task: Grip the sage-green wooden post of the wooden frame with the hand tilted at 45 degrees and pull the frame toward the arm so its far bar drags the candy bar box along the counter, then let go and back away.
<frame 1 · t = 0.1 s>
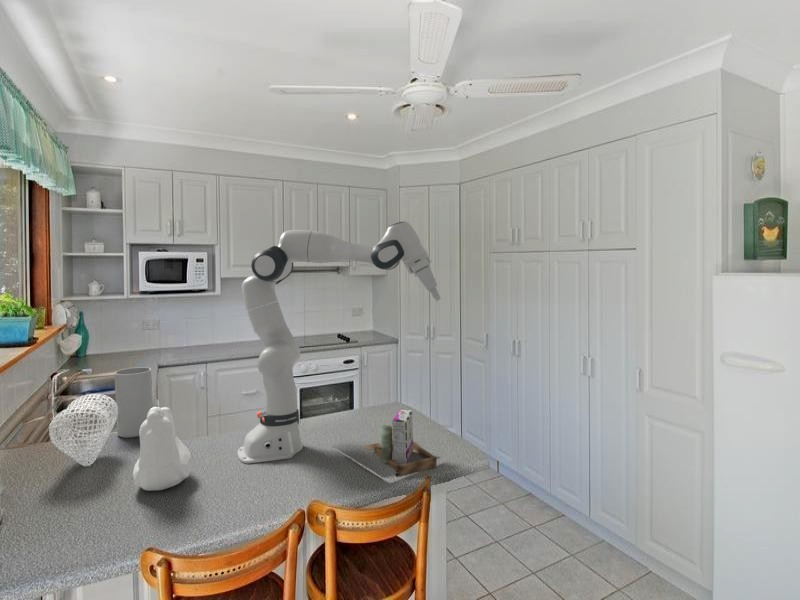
hand: (437, 298, 160), 54 cm above the countertop, tool tilted 30°, fingers open, 8 cm apart
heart: (88, 466, 152), on the countertop
candy bar box: (403, 462, 153), on the countertop
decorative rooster: (168, 479, 142), on the countertop
cylinder vase: (136, 433, 182), on the countertop
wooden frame: (402, 442, 153), point 7 cm above the countertop, slide at 0.0 cm
broken slat: (385, 447, 165), on the countertop
oak cube: (396, 441, 167), point 1 cm above the countertop, touching broken slat
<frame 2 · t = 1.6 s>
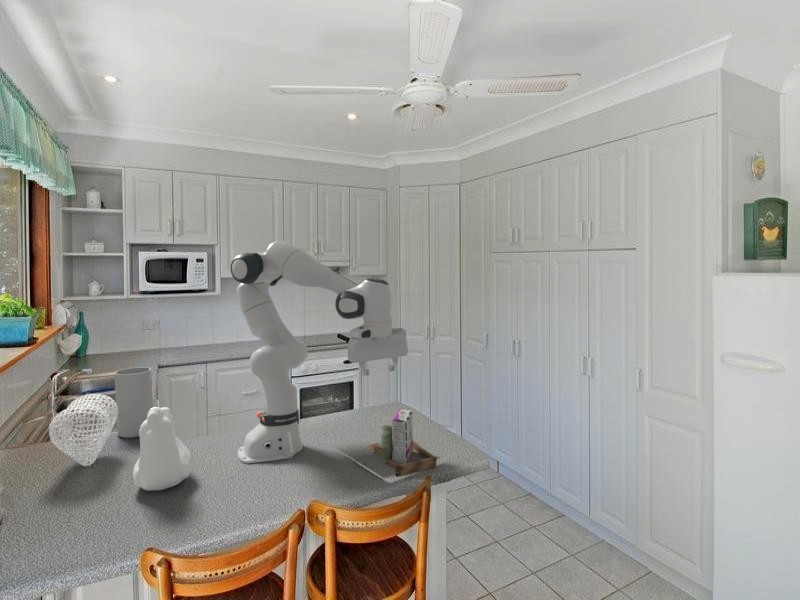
hand: (379, 373, 145), 32 cm above the countertop, tool pointing down, fingers open, 8 cm apart
nothing on the countertop moved.
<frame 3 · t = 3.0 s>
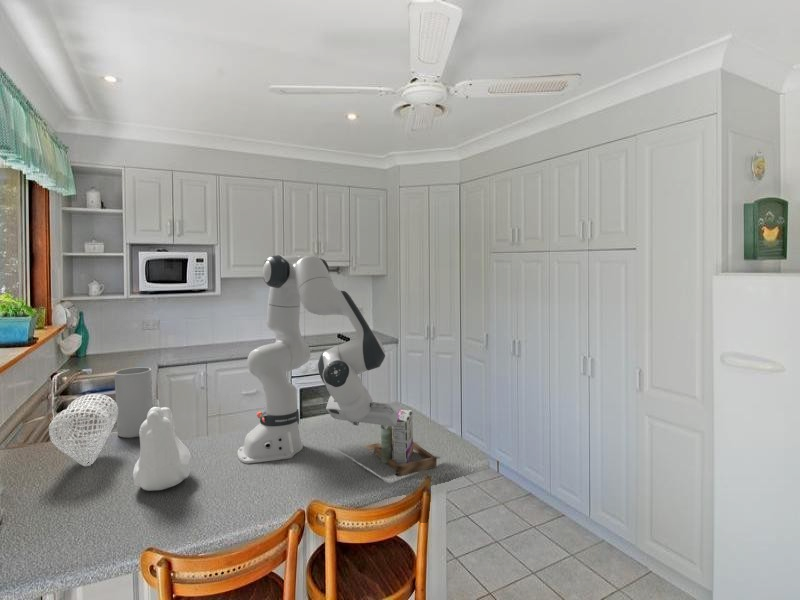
hand: (370, 425, 138), 18 cm above the countertop, tool tilted 45°, fingers open, 8 cm apart
nothing on the countertop moved.
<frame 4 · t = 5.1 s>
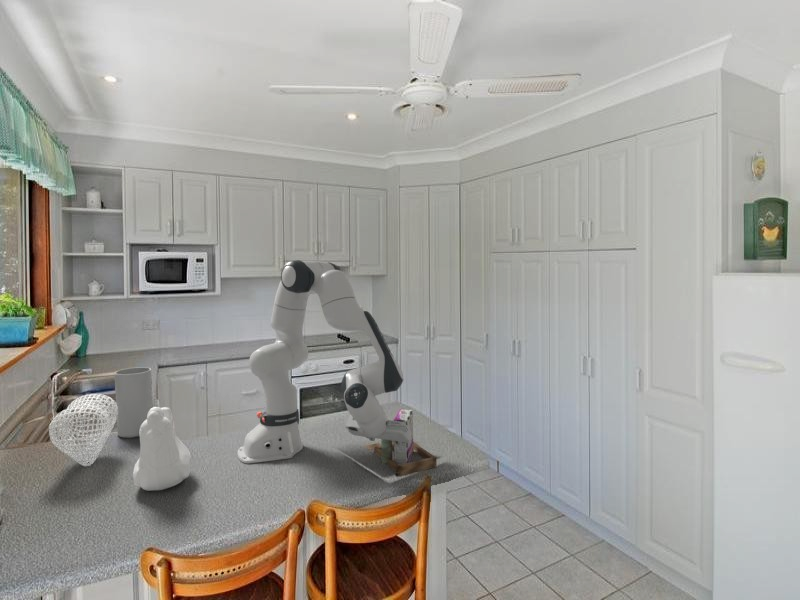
hand: (386, 440, 149), 9 cm above the countertop, tool tilted 45°, fingers open, 8 cm apart
candy bar box: (403, 462, 154), on the countertop, touching gripper
everything else where it was.
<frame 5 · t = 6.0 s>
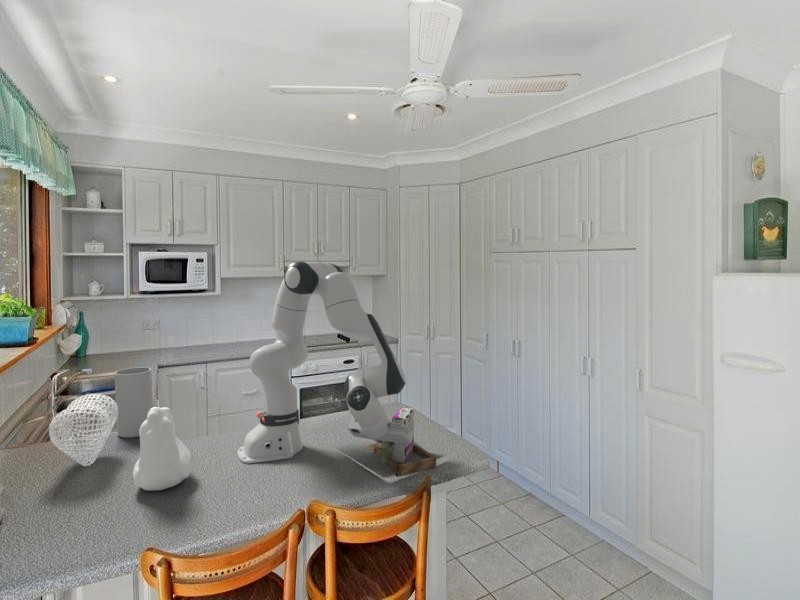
hand: (387, 442, 150), 8 cm above the countertop, tool tilted 45°, fingers open, 4 cm apart
candy bar box: (403, 460, 155), on the countertop, touching gripper, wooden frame
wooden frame: (402, 442, 153), point 7 cm above the countertop, slide at 0.0 cm, touching candy bar box, gripper
everything else where it was.
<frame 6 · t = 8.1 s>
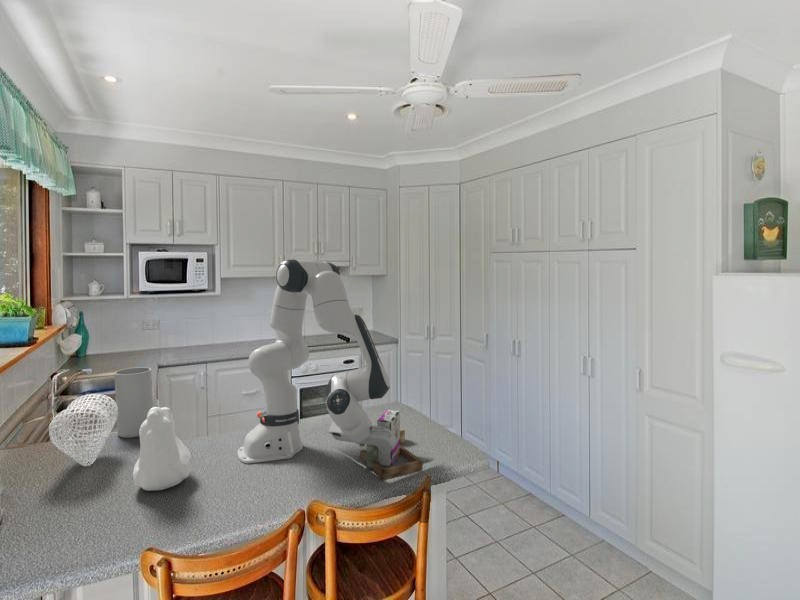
hand: (370, 445, 147), 8 cm above the countertop, tool tilted 45°, fingers open, 4 cm apart
candy bar box: (389, 463, 153), on the countertop
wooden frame: (388, 445, 150), point 7 cm above the countertop, slide at 5.4 cm, touching gripper
everything else where it was.
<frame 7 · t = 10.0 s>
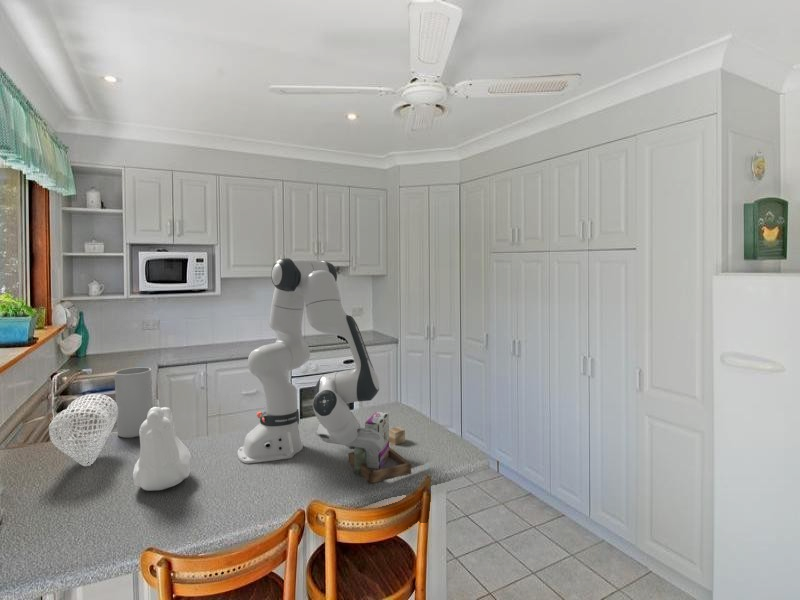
hand: (359, 448, 145), 8 cm above the countertop, tool tilted 45°, fingers closed on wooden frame, 4 cm apart
candy bar box: (377, 466, 151), on the countertop
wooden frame: (377, 448, 148), point 7 cm above the countertop, slide at 9.5 cm, touching gripper
everything else where it was.
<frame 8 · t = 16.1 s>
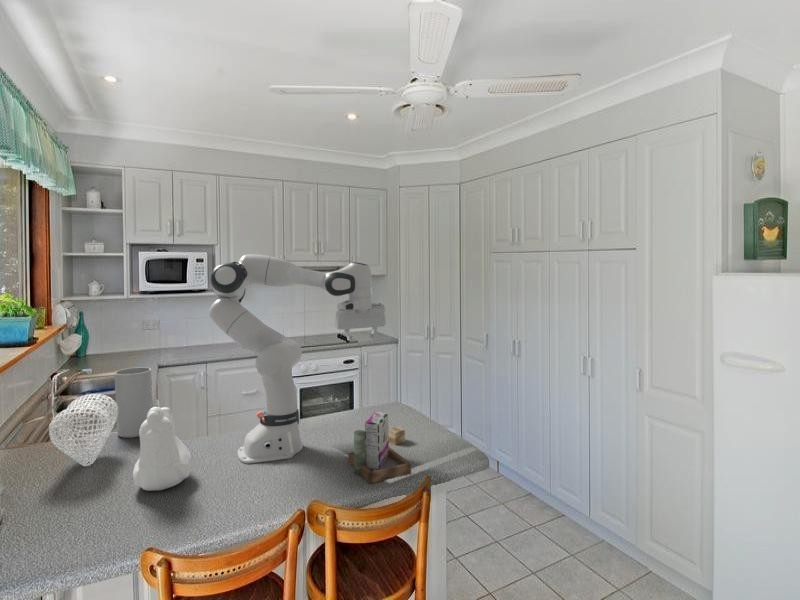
hand: (361, 339, 179), 37 cm above the countertop, tool pointing down, fingers open, 8 cm apart
candy bar box: (377, 465, 151), on the countertop, touching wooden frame
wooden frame: (376, 448, 148), point 7 cm above the countertop, slide at 9.6 cm, touching candy bar box
everything else where it was.
at the end: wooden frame slide at 9.6 cm; candy bar box inside the target area (2.4 cm from its centre), on the countertop; candy bar box tilted 0° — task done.
